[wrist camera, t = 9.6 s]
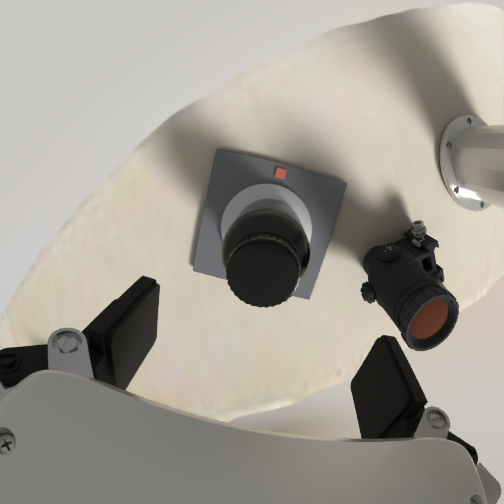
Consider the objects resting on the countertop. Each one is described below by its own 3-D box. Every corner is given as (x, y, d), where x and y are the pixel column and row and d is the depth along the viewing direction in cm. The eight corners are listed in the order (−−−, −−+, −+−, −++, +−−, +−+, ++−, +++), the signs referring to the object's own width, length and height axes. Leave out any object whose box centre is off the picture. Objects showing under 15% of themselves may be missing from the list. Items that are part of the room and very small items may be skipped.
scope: (485, 327, 17) (396, 378, 19) (424, 271, 30) (358, 302, 32) (486, 249, 15) (382, 306, 17) (412, 213, 28) (339, 245, 30)
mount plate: (345, 182, 27) (348, 183, 26) (308, 296, 32) (309, 302, 31) (218, 149, 27) (215, 148, 26) (194, 268, 32) (190, 273, 30)
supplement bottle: (310, 210, 27) (336, 245, 16) (287, 269, 29) (294, 334, 18) (247, 187, 27) (228, 206, 16) (226, 248, 29) (198, 303, 18)
